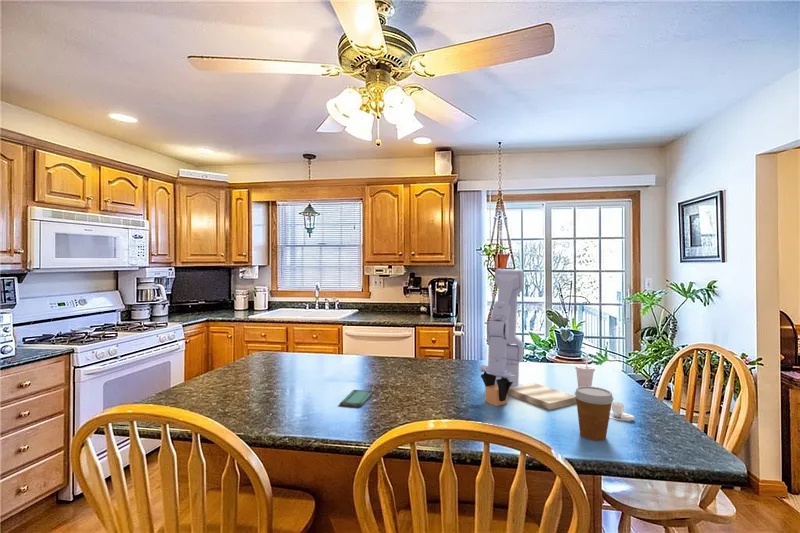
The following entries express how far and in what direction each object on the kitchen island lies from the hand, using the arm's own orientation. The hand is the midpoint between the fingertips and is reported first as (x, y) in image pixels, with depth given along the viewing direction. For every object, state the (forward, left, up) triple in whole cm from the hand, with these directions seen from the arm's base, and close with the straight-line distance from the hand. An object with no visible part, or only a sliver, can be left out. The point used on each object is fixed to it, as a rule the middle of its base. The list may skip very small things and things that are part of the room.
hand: (496, 398), depth 135 cm
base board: (+4, +17, -1) cm, 18 cm away
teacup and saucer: (+27, +22, -2) cm, 35 cm away
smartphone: (-24, -39, -2) cm, 46 cm away
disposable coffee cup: (+32, +4, -2) cm, 32 cm away
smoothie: (+8, +35, -2) cm, 36 cm away
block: (0, 0, -1) cm, 1 cm away
